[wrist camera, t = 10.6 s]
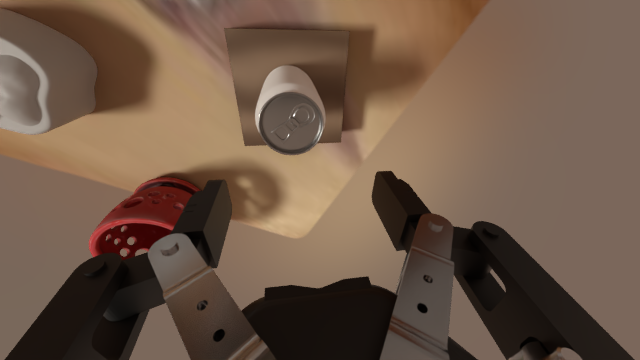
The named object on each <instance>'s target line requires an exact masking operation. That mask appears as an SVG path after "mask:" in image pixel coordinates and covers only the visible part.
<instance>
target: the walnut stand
mask: <svg viewBox="0 0 640 360" xmlns="http://www.w3.org/2000/svg"><path fill="white" fill-rule="evenodd" d="M224 31H225V37H226V42H227V48H228V54H229V59H230V65H231V71H232V76H233V82H234V88H235V93H236V99H237V104H238V110H239V116H240V121H241V127H242V133H243V138H244V144H245V146H256V145H267V144H266V143H265V142H264V140H263V139H262V137H261V135H260V133H259V131H258V129H257V126H256V121H255V110H256V106H257V102H258V99H259V96H260V93H261V90H262V87H263V84H264V82H265V80H266V78H267V76H268V75H269V74H270V72H272V71H273V70H274V69H276V68H278V67H280V66H286V65H289V66H295V67H297V68H299V69H301V70H302V71H304V72H305V73H306V74H307V75H308V76H309V77H310V79H311V81H312V82H313V84H314V86H315V88H316V90H317V92H318V94H319V96H320V99H321V101H322V103H323V106H324V109H325V115H326V121H325V127H324V130H323V133H322V136H321V138H320V140H319V141H318V143H336V142H341V134H342V121H343V108H344V95H345V82H346V69H347V56H348V44H349V31H333V30H291V29H248V28H224Z"/></svg>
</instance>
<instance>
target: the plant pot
mask: <svg viewBox="0 0 640 360" xmlns="http://www.w3.org/2000/svg"><path fill="white" fill-rule="evenodd" d="M197 191H200V190H199V189H198V188H197V187H196V186H194V185H192V184H191V183H189V182H186V181H184V180H180V179H176V178H168V177H164V178H156V179H152V180H149V181H147V182H145V183H143V184H141V185H140V186H139V187H138V188H137V189H136V190H135V192H134V194H133V195H132V196H130V197H129V198H127V199H125V200H124V201H122V202H121V203H120V204H119V205H117V206H116V207H115V208H114V209H113V210H112V211H111V212H110V213H109V214H108V215H107V216H106V217H105V218H104V219H103V220H102V222H101V223H100V224H99V225H98V226H97V228H96V229H95V230H94V232H93V233H92V236H91V237H90V240H89V249H90V251H91V254H92V256H93V257H95V256H98V255H101V254H104V253H117V254H119V255H120V250H121V249H126V250H127V256H126V257H123V256H121V255H120V256H121V258H122V259H123V260H125V259H128V258H131V257H135V252H136V251H137V250H139V249H144V250H147V251H149V249H150V248H151V246H152V245H153V244H154V243H155V242H156V241H158V240H159V239H161V238H163V237H165V236H167V235H170V234H171V232H172V230H173V228H174V226H175V224H176V222H177V221H178V219H179V217H180V215H181V213H183V210H184V208H185V206H186V204H187V202H188V200H189V198H190V197H191V196H192V195H194V194H195V193H196V192H197ZM114 226H115V227H114ZM122 226H124V231H123V232H121V228H122ZM112 227H114V228H113V229H111V228H112ZM107 235H108V239H107V241H106V236H107ZM129 237H132V238H134V240H135V242H134V244H133V245H129V244H128V243H127V239H128V238H129ZM115 239H117V240H118V244H117V245H115V244H114V240H115Z"/></svg>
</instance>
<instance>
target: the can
mask: <svg viewBox="0 0 640 360" xmlns="http://www.w3.org/2000/svg"><path fill="white" fill-rule="evenodd" d="M255 121H256V126H257V129H258V131H259V133H260V135H261V137H262V139H263V140H264V142H265V143H266V144H267V145H268V146H269V147H270V148H271V149H273V150H274V151H276V152H278V153H281V154H285V155H298V154H302V153H305V152H307V151H309V150H310V149H312V148H313V147H314V146H315V145H316V144H317V143H318V141H319V140H320V138H321V136H322V133H323V130H324V127H325V121H326V115H325V109H324V106H323V103H322V101H321V99H320V96H319V94H318V92H317V90H316V88H315V86H314V84H313V82H312V81H311V79H310V77H309V76H308V75H307V74H306V73H305V72H304V71H302V70H301V69H299V68H297V67H295V66H289V65H286V66H280V67H278V68H276V69H274V70H273V71H272V72H270V74H269V75H268V76H267V78H266V80H265V82H264V84H263V87H262V90H261V93H260V96H259V99H258V102H257V106H256V110H255Z"/></svg>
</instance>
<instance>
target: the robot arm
mask: <svg viewBox="0 0 640 360" xmlns="http://www.w3.org/2000/svg"><path fill="white" fill-rule="evenodd" d="M372 202H373V205H374V207H375V209H376V211H377V213H378V215H379V217H380V219H381V221H382V223H383V225H384V227H385V229H386V231H387V233H388V235H389V237H390V239H391V241H392V243H393V245H394V247H395V248H396V250H397V251H400V250H405V251H406V253H407V255H406V258H405V261H404V264H403V267H402V271H401V274H400V277H399V281H398V284H397V287H396V290H395V293H393V292H391V291H389V290H387V289H385V288H382V287H380V286H376V285H371V283H370V280H369V277H359V278H350V279H343V280H340V281H338V282H335V283H333V284H330V285H328V286H325V287H323V288H310V287H302V286H295V285H288V286H279V287H270V288H265V297H263V298H260V299H258V300H256V301H254V302H252V303H251V304H249V305H248V306H247V307H245V308H244V309H243V310H242V311H241V310H240V309H239V308H238V306H237V304H236V303H235V302H234V300H233V298H232V297H231V295H230V294H229V292H227V290H226V288H225V287H224V285H223V284H222V282H221V281H220V279H219V278H218V276H217V275H216V274H215V272H214V270H213V269H212V268H217V266H218V262H219V259H220V255H221V252H222V248H223V244H224V241H225V237H226V233H227V230H228V226H229V222H230V219H231V215H232V203H231V199H230V195H229V191H228V187H227V183H226V181H225V180H209V181H208V182H207V184H206V186H205V188H204V190H203V191H197V192H196V193H195V194H194V195H192V196H191V197H190V198H189V200H188V202H187V204H186V206H185V208H184V210H183V213H181V215H180V217H179V219H178V221H177V222H176V224H175V226H174V228H173V230H172V232H171V234H170V235H167V236H165V237H163V238H161V239H159V240H158V241H156V242H155V243H154V244H153V245H152V246H151V248H150V249H149V251H148V252H147V253H144V254H141V255H138V256H135V257H131V258H128V259H125V260H123V259H122V258H121V256H120V255H119V254H117V253H104V254H101V255H98V256H95V257H93V258H91V259H89V260H87V261H86V262H84V263H82V264H81V265H80V266H79V267H78V268H76V269H75V270H74V272H73V273H72V274H71V275H70V277H69V278H68V279H67V280H66V282H65V283H64V284H63V286H62V287H61V288H60V289H59V291H58V292H57V293H56V295H55V296H54V297H53V298H52V300H51V301H50V302H49V304H48V305H47V306H46V308H45V309H44V310H43V311H42V312H41V314H40V315H39V316H38V318H37V319H36V320H35V321H34V323H33V324H32V325H31V327H30V328H29V329H28V330H27V332H26V333H25V334H24V336H23V337H22V338H21V339H20V341H19V342H18V343H17V345H16V346H15V347H14V348H13V350H12V351H11V352H10V353H9V355H8V356H7V357H6V359H5V360H129V358H130V356H131V353H132V351H133V348H134V346H135V344H136V341H137V339H138V336H139V333H140V331H141V329H142V326H143V324H144V322H145V319H146V317H147V314H148V312H149V309H151V308H154V307H156V306H159V305H162V304H164V303H166V304H167V306H168V309H169V311H170V313H171V315H172V318H173V320H174V323H175V325H176V327H177V329H178V332H179V334H180V336H181V339H182V341H183V343H184V346H185V348H186V350H187V352H188V355H189V357H190V359H191V360H477V359H476V358H475V357H474V356H472V355H471V354H470V353H469V352H467V351H466V350H465V349H464V348H463V347H461V346H460V345H459V344H458V343H456V342H455V341H454V340H453V339H451V338H450V337H449V336H448V333H449V321H450V310H451V298H452V287H453V276H455V277H456V279H457V281H458V282H459V284H460V285H461V287H462V289H463V290H464V292H465V293H466V295H467V297H468V298H469V300H470V302H471V303H472V305H473V306H474V308H475V310H476V311H477V313H478V314H479V316H480V318H481V319H482V321H483V323H484V324H485V326H486V327H487V329H488V331H489V332H490V334H491V336H492V337H493V339H494V340H495V342H496V344H497V345H498V347H499V348H500V350H501V352H502V353H503V355H504V356H505V358H506V360H634V359H633V358H632V357H631V356H630V355H629V354H628V353H627V352H626V351H625V350H624V349H623V348H622V347H621V346H620V345H619V344H618V343H617V342H616V341H615V340H614V339H613V338H612V337H611V336H610V335H609V334H608V333H607V332H606V331H605V330H604V329H603V328H602V327H601V326H600V325H599V324H598V323H597V322H596V321H595V320H594V319H593V318H592V317H591V316H590V315H589V314H588V313H587V312H586V311H585V310H584V309H583V308H582V307H581V306H580V305H579V304H578V303H577V302H576V301H575V300H574V299H573V298H572V297H571V296H570V295H569V294H568V293H567V292H566V291H565V290H564V289H563V288H562V287H561V286H560V285H559V284H558V283H557V282H556V281H555V280H554V279H553V278H552V277H551V276H550V275H549V274H548V273H547V272H546V271H545V270H544V269H543V268H542V267H541V266H540V265H539V264H538V263H537V262H536V261H535V260H534V259H533V258H532V257H531V256H530V255H529V254H528V253H527V252H526V251H525V250H524V249H523V248H522V247H521V246H520V245H519V244H518V243H517V242H516V241H515V240H514V239H513V238H512V237H511V236H510V235H509V234H508V233H507V232H506V231H505V230H504V229H502V228H500V227H499V226H497V225H495V224H492V223H489V222H484V221H479V222H476V223H474V224H473V226H472V228H471V229H466V228H460V227H454V226H452V224H451V223H450V222H449V221H448V220H447V219H445V218H444V217H442V216H440V215H437V214H432V213H431V212H430V211H429V210H428V208H427V207H426V206H425V204H424V203H423V202H422V201H421V199H420V198H419V197H417V194H416V193H415V192H414V191H413V189H412V188H411V187H410V186H409V184H407V183H406V182H404V181H403V180H401V179H397V178H396V176H395V175H394V174H393V172H392V171H379V172H377V173H376V176H375V181H374V186H373V192H372ZM491 269H493V270H494V272H495V273H496V274H497V275H498V276H499V278H500V279H501V280H502V282H503V283H504V285H505V288H506V293H505V291H504V290H503V289H502V288H501V286H500V285H499V284H498V282H497V281H496V280H495V278H494V277H493V276H492V275H491V273H490V271H491Z"/></svg>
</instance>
